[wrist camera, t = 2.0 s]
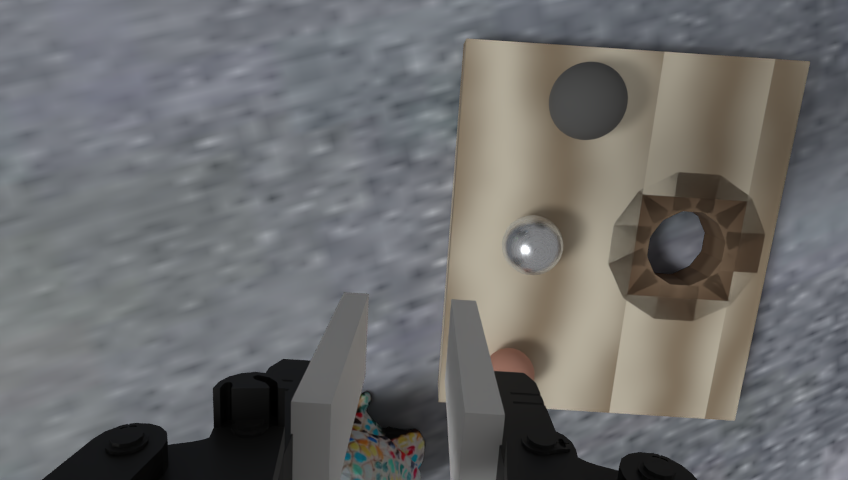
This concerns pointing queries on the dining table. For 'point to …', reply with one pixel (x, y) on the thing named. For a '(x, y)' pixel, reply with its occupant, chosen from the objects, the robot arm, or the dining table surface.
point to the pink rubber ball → (512, 362)
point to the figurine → (381, 450)
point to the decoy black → (588, 100)
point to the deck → (622, 221)
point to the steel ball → (532, 245)
